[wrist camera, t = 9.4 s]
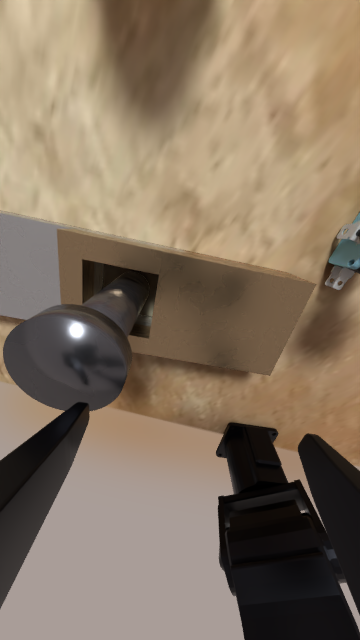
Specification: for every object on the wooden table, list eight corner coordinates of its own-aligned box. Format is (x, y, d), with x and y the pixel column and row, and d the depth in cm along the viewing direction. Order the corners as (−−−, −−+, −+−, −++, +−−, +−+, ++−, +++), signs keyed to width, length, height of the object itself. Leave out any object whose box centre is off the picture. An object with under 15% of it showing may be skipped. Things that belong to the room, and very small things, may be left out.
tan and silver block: (253, 349, 20) (269, 375, 16) (-14, 301, 18) (-63, 318, 14) (286, 272, 17) (316, 284, 13) (-36, 202, 15) (-107, 193, 11)
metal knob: (153, 314, 19) (120, 418, 8) (106, 306, 18) (13, 403, 8) (161, 268, 17) (130, 330, 7) (109, 258, 16) (-9, 305, 6)
